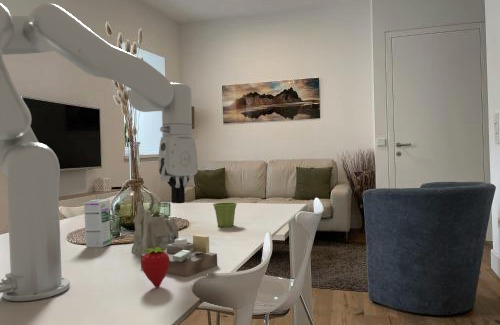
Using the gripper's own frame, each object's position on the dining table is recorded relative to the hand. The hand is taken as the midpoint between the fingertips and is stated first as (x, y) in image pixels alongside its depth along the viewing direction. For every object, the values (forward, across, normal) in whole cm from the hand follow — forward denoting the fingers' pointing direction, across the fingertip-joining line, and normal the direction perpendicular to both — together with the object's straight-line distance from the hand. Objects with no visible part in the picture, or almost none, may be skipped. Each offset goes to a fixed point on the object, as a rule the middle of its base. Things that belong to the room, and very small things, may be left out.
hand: (178, 202), depth 106 cm
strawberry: (+16, -16, -10) cm, 25 cm away
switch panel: (+16, -2, -2) cm, 16 cm away
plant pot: (+15, +47, +24) cm, 55 cm away
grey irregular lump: (+16, +8, +16) cm, 24 cm away
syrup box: (+16, +1, +38) cm, 41 cm away
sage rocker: (+12, -6, -7) cm, 15 cm away
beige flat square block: (+12, +1, -7) cm, 14 cm away
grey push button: (+12, +1, 0) cm, 12 cm away
